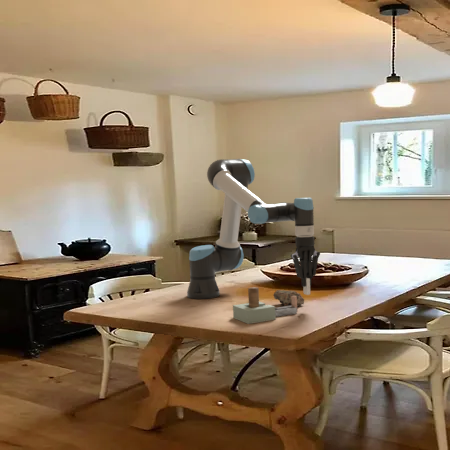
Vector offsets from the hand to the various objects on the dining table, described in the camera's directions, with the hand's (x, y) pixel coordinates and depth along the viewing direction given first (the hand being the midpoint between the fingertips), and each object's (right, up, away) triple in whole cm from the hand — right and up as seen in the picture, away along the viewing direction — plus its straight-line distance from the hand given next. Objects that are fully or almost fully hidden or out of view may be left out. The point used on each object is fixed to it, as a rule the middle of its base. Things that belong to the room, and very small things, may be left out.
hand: (306, 294), depth 249 cm
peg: (-22, -8, -10) cm, 25 cm away
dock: (-22, -8, -10) cm, 26 cm away
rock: (-6, -6, +12) cm, 15 cm away
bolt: (-9, -7, -4) cm, 12 cm away
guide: (-11, -8, -5) cm, 14 cm away
